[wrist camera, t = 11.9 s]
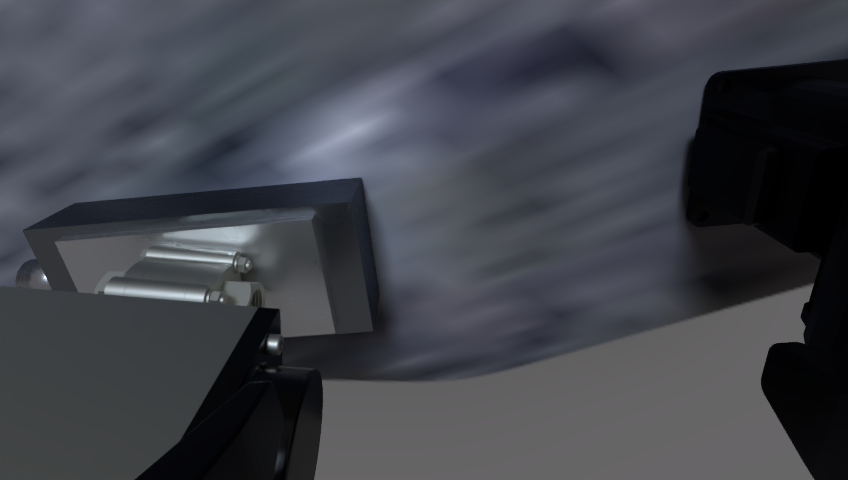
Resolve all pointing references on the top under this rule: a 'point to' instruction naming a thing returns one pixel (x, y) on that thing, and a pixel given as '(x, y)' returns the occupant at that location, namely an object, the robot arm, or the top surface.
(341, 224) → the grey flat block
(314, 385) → the pneumatic valve
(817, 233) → the robot arm
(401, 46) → the top surface
